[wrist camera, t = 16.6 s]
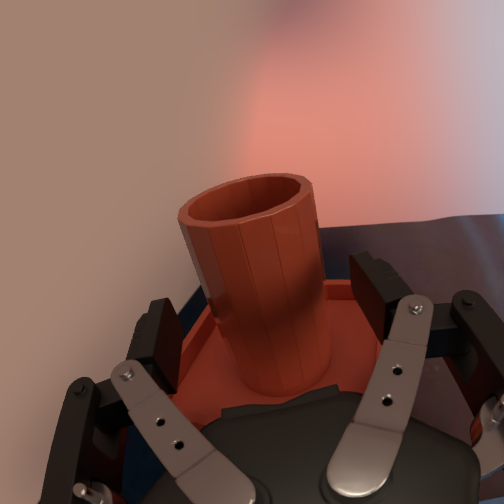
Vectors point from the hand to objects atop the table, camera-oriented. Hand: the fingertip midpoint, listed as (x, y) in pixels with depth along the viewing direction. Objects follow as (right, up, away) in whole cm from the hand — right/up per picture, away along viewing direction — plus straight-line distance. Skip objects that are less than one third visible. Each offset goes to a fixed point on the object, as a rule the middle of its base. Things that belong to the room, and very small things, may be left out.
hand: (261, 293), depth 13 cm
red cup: (+2, -5, +6) cm, 8 cm away
